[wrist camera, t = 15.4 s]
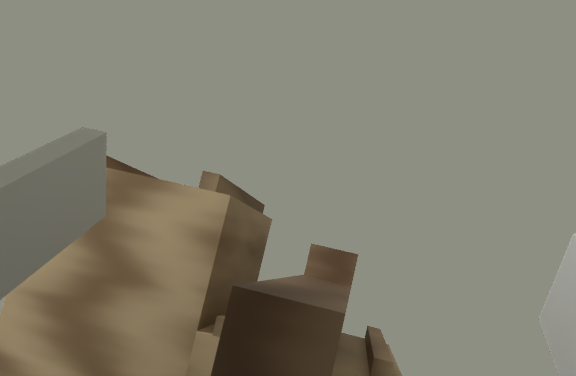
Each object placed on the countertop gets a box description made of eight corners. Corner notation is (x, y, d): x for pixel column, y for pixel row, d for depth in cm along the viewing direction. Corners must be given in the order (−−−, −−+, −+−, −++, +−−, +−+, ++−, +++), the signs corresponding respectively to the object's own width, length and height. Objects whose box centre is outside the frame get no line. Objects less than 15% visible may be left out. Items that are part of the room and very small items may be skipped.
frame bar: (204, 401, 14) (250, 210, 14) (299, 316, 37) (315, 246, 38) (318, 434, 13) (361, 236, 14) (342, 327, 37) (357, 255, 37)
